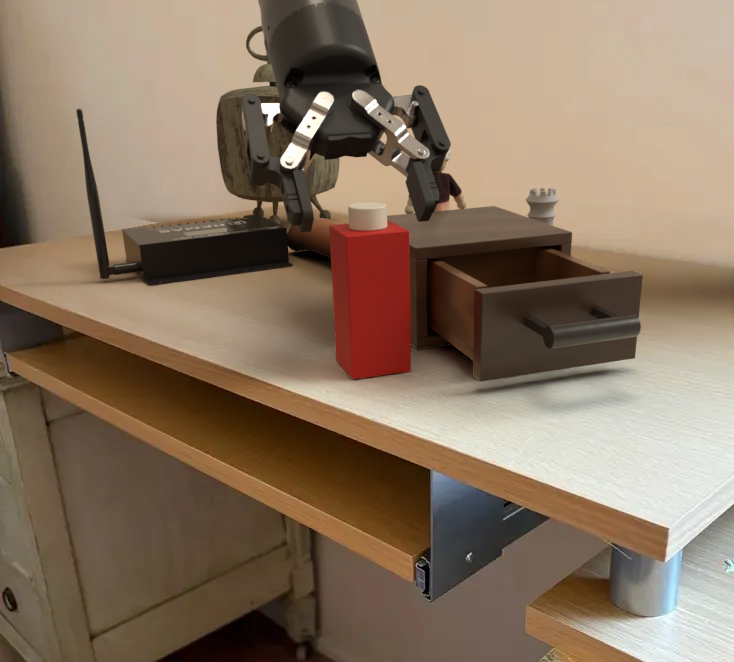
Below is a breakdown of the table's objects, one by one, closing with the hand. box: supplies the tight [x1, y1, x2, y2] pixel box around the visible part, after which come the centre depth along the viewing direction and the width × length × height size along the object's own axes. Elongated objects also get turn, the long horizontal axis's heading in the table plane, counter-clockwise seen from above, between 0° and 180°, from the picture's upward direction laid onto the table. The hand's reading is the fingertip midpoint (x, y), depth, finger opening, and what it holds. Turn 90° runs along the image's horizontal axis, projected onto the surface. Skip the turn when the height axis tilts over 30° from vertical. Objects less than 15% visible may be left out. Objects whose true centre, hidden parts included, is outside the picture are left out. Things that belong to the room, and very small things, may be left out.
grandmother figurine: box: [404, 150, 468, 214], centre depth 89 cm, size 8×4×13 cm, turn 132°
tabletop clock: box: [215, 25, 341, 225], centre depth 109 cm, size 14×9×25 cm, turn 66°
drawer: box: [427, 246, 644, 382], centre depth 58 cm, size 17×12×6 cm
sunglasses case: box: [287, 217, 348, 258], centre depth 91 cm, size 18×7×7 cm
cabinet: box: [387, 205, 573, 350], centre depth 69 cm, size 14×13×8 cm
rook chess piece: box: [525, 187, 560, 226], centre depth 84 cm, size 4×4×8 cm
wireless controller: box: [75, 108, 294, 286], centre depth 89 cm, size 20×14×17 cm
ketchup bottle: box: [329, 201, 412, 380], centre depth 58 cm, size 4×4×12 cm
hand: (368, 220), depth 56 cm, fingers open, 8 cm apart
